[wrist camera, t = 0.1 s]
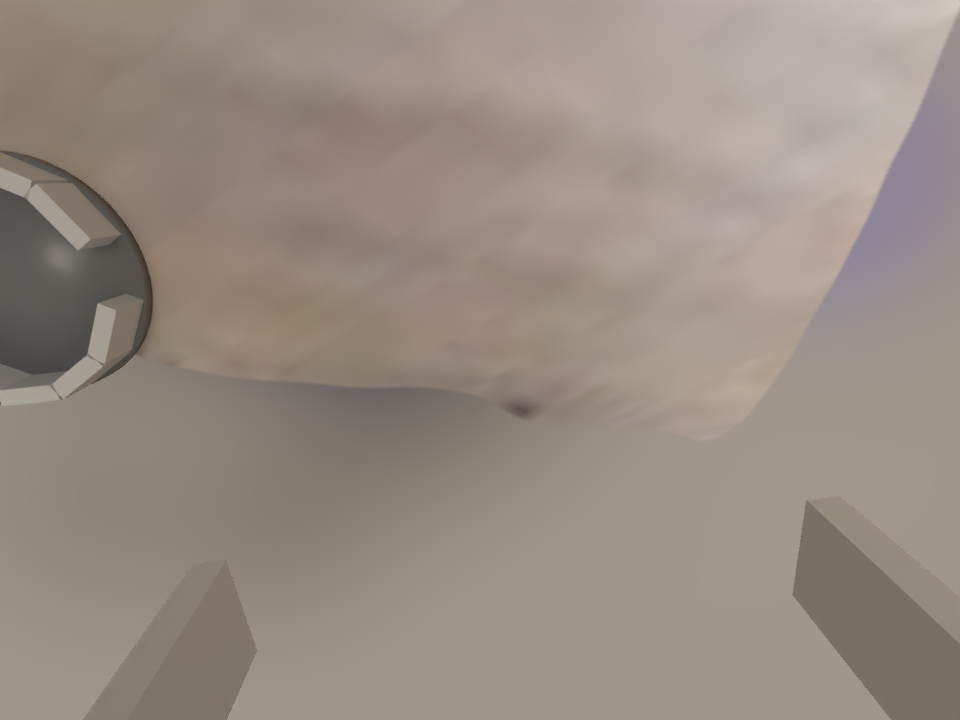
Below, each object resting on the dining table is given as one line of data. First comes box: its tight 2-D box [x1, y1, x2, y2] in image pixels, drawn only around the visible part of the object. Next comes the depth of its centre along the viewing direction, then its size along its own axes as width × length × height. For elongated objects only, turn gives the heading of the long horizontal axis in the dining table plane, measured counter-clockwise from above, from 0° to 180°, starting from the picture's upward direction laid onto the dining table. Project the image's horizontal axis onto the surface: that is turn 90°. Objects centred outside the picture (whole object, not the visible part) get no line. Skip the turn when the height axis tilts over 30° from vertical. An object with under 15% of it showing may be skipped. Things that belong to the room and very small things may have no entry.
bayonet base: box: [0, 151, 152, 406], centre depth 34 cm, size 17×17×4 cm
